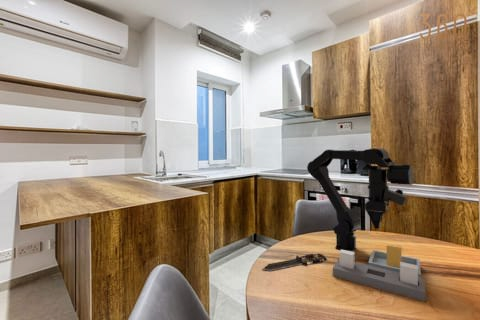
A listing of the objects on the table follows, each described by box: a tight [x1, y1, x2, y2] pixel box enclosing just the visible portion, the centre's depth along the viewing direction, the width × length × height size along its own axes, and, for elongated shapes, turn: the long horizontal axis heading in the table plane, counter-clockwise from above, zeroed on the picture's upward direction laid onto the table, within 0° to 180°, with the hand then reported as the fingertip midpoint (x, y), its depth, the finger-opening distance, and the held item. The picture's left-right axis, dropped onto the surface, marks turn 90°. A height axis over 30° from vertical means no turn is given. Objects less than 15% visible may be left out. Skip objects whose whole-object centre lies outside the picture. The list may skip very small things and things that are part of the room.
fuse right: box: [400, 262, 418, 286], centre depth 64 cm, size 4×2×7 cm, turn 53°
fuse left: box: [339, 249, 356, 270], centre depth 74 cm, size 4×2×7 cm, turn 53°
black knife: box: [261, 253, 328, 272], centre depth 82 cm, size 25×6×1 cm, turn 103°
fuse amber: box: [386, 242, 403, 268], centre depth 76 cm, size 4×2×7 cm, turn 53°
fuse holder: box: [332, 257, 427, 303], centre depth 69 cm, size 23×8×2 cm, turn 53°
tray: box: [367, 249, 422, 278], centre depth 77 cm, size 14×12×2 cm
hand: (378, 225), depth 84 cm, fingers open, 9 cm apart
